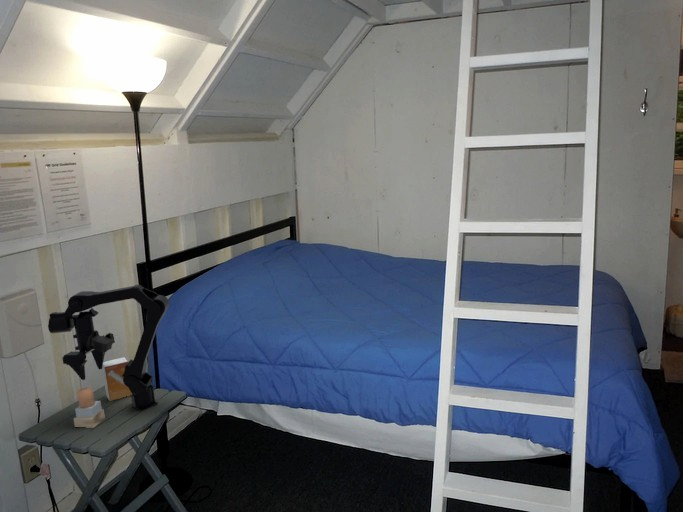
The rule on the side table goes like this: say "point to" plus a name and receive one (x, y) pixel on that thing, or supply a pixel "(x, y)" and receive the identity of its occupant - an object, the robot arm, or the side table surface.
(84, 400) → the terracotta rounded cylinder
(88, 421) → the oak base block
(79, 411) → the grey-blue top block
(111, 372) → the small box
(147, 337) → the robot arm
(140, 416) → the side table surface
